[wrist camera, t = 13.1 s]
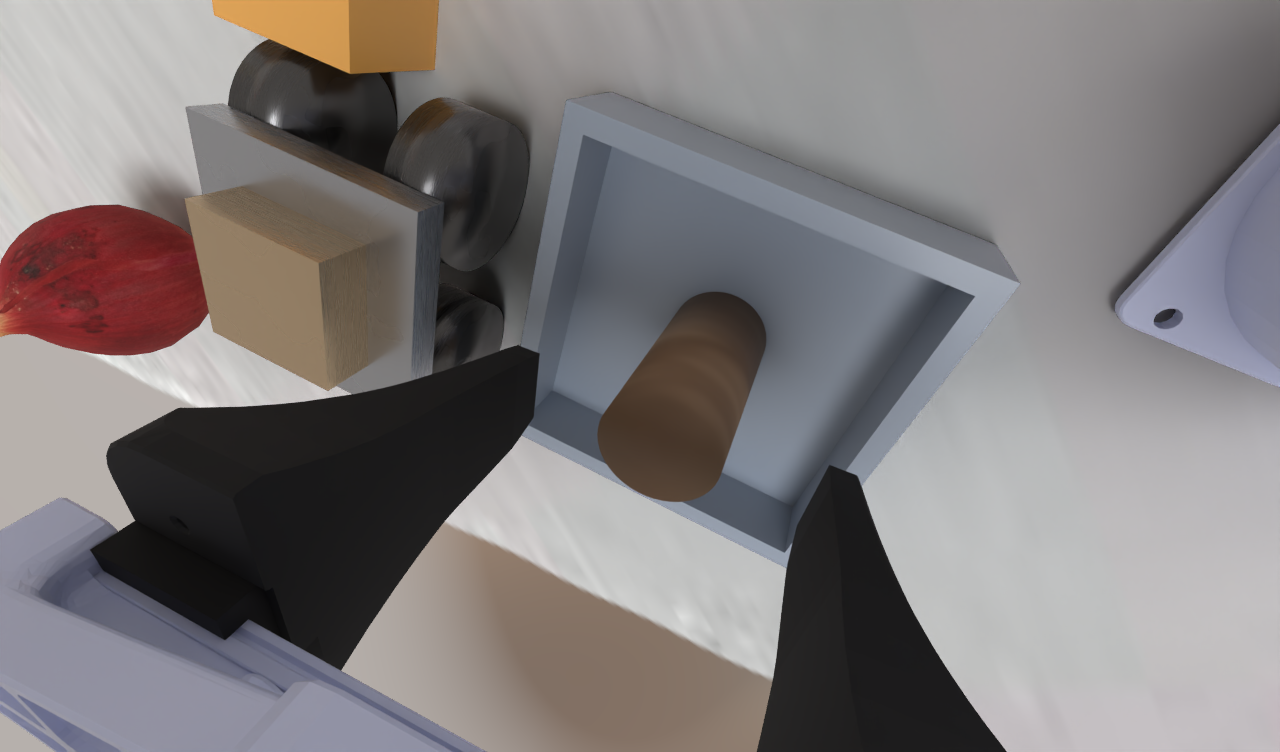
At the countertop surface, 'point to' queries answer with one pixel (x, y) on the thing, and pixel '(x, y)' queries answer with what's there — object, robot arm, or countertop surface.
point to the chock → (345, 30)
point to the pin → (685, 400)
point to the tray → (763, 277)
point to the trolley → (349, 221)
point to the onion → (102, 281)
